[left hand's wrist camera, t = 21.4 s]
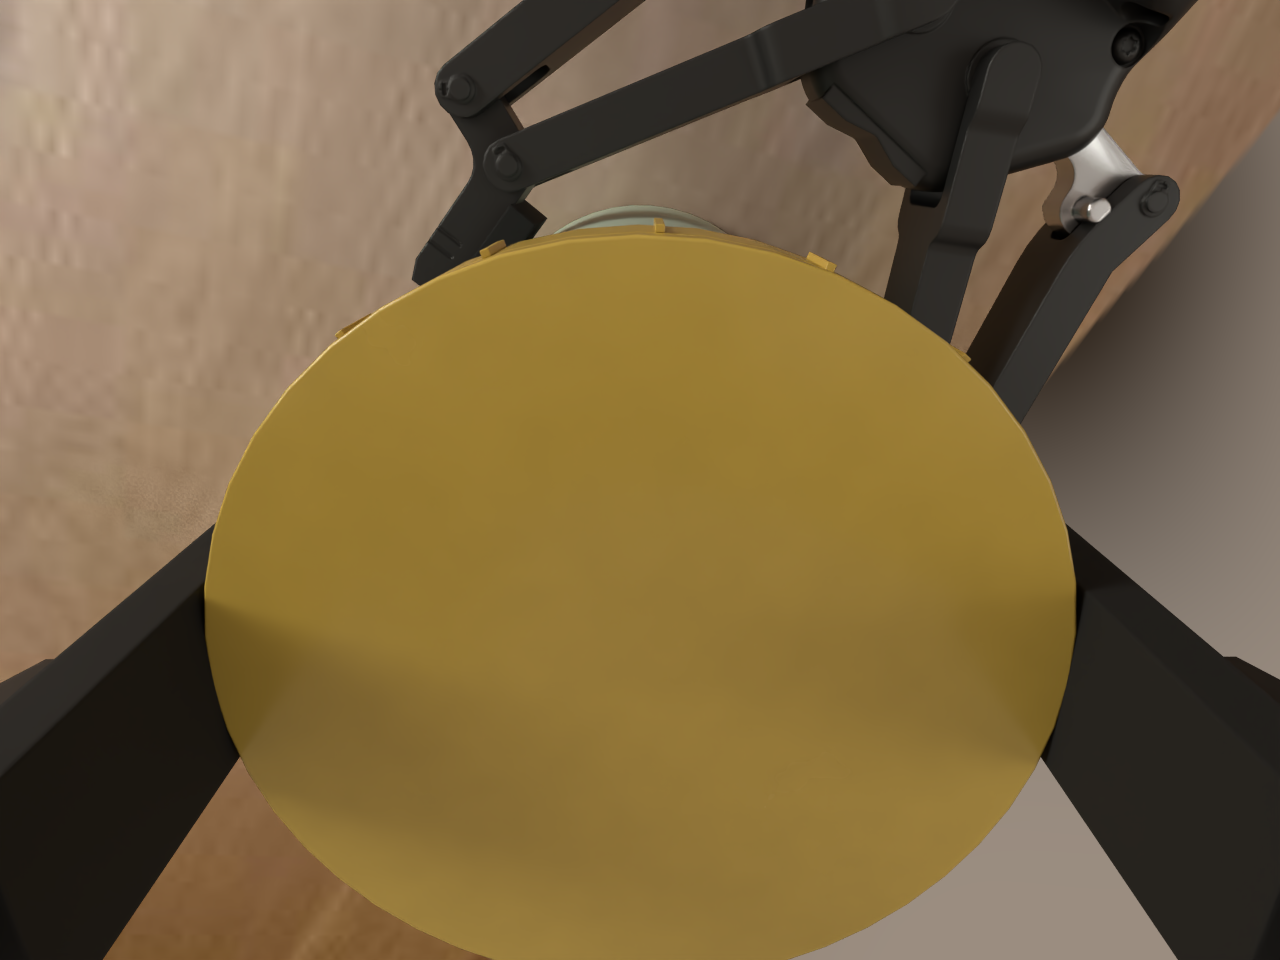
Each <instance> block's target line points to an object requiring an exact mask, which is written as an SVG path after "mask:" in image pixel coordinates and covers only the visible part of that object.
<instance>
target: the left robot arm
mask: <svg viewBox="0 0 1280 960" xmlns="http://www.w3.org/2000/svg"><path fill="white" fill-rule="evenodd" d="M215 524H216V523H215ZM215 524H214V525H213V526H211V527H210V528H209V529H208V530H207V531H206V532H204V533H203V534H202V535H201V536H200V537H198V538H197V539H196V540H195V541H194V542H193V543H191V544H190V545H189V546H188V547H187V548H185V549H184V550H183V551H182V552H181V553H179V554H178V555H177V556H176V557H175V558H174V559H172V560H171V561H170V562H169V563H168V564H166V565H165V566H164V567H163V568H162V569H161V570H159V571H158V572H157V573H156V574H155V575H153V576H152V577H151V578H150V579H149V580H148V581H146V582H145V583H144V584H143V585H142V586H140V587H139V588H138V589H137V590H136V591H134V592H133V593H132V594H131V595H130V596H129V597H127V598H126V599H125V600H124V601H123V602H121V603H120V604H119V605H118V606H117V607H116V608H114V609H113V610H112V611H111V612H110V613H108V614H107V615H106V616H105V617H104V618H102V619H101V620H100V621H99V622H98V623H97V624H95V625H94V626H93V627H92V628H91V629H89V630H88V631H87V632H86V633H85V634H84V635H82V636H81V637H80V638H79V639H78V640H76V641H75V642H74V643H73V644H72V645H71V646H69V647H68V648H67V649H66V650H65V651H63V652H62V653H61V654H60V655H59V656H57V657H56V658H55V659H45V660H44V661H42V662H40V663H38V664H36V665H34V666H32V667H30V668H28V669H26V670H25V671H23V672H21V673H19V674H17V675H15V676H13V677H11V678H9V679H7V680H6V681H4V682H2V683H0V960H103V958H104V957H105V955H106V954H107V952H108V951H109V949H110V948H111V946H112V945H113V944H114V942H115V941H116V939H117V938H118V936H119V935H120V933H121V932H122V930H123V929H124V927H125V926H126V924H127V923H128V921H129V920H130V918H131V917H132V915H133V914H134V912H135V911H136V910H137V908H138V907H139V905H140V904H141V902H142V901H143V899H144V898H145V896H146V895H147V893H148V892H149V890H150V889H151V887H152V886H153V884H154V883H155V881H156V880H157V878H158V877H159V875H160V874H161V873H162V871H163V870H164V868H165V867H166V865H167V864H168V862H169V861H170V859H171V858H172V856H173V855H174V853H175V852H176V850H177V849H178V847H179V846H180V844H181V843H182V841H183V840H184V838H185V837H186V836H187V834H188V833H189V831H190V830H191V828H192V827H193V825H194V824H195V822H196V821H197V819H198V818H199V816H200V815H201V813H202V812H203V810H204V809H205V807H206V806H207V804H208V803H209V802H210V800H211V799H212V797H213V796H214V794H215V793H216V791H217V790H218V788H219V787H220V785H221V784H222V782H223V781H224V779H225V778H226V776H227V775H228V773H229V772H230V770H231V769H232V767H233V766H234V765H235V763H236V762H237V760H238V759H239V757H240V755H239V753H238V751H237V749H236V747H235V745H234V743H233V741H232V738H231V736H230V734H229V732H228V730H227V727H226V724H225V721H224V718H223V715H222V712H221V709H220V705H219V701H218V697H217V693H216V689H215V685H214V681H213V676H212V671H211V667H210V662H209V657H208V652H207V646H206V640H205V589H204V586H205V580H206V573H207V566H208V560H209V553H210V547H211V540H212V534H213V531H214V528H215ZM1065 524H1066V523H1065ZM1066 527H1067V530H1068V536H1069V542H1070V548H1071V555H1072V561H1073V567H1074V573H1075V579H1076V638H1075V644H1074V651H1073V656H1072V661H1071V666H1070V671H1069V675H1068V680H1067V684H1066V688H1065V692H1064V696H1063V700H1062V704H1061V708H1060V712H1059V715H1058V718H1057V721H1056V725H1055V727H1054V729H1053V732H1052V734H1051V736H1050V738H1049V740H1048V742H1047V744H1046V746H1045V749H1044V751H1043V753H1042V755H1041V758H1042V759H1043V761H1044V762H1045V764H1046V765H1047V767H1048V768H1049V770H1050V771H1051V773H1052V774H1053V776H1054V777H1055V779H1056V780H1057V782H1058V783H1059V784H1060V786H1061V787H1062V789H1063V790H1064V792H1065V793H1066V795H1067V796H1068V798H1069V799H1070V801H1071V802H1072V804H1073V805H1074V807H1075V808H1076V810H1077V811H1078V813H1079V814H1080V816H1081V817H1082V818H1083V820H1084V821H1085V823H1086V824H1087V826H1088V827H1089V829H1090V830H1091V832H1092V833H1093V835H1094V836H1095V838H1096V839H1097V841H1098V842H1099V844H1100V845H1101V847H1102V848H1103V849H1104V851H1105V853H1106V854H1107V855H1108V857H1109V858H1110V860H1111V861H1112V863H1113V864H1114V866H1115V867H1116V869H1117V870H1118V872H1119V873H1120V875H1121V876H1122V878H1123V879H1124V881H1125V882H1126V884H1127V885H1128V887H1129V888H1130V889H1131V891H1132V892H1133V894H1134V895H1135V897H1136V898H1137V900H1138V901H1139V903H1140V904H1141V906H1142V907H1143V909H1144V910H1145V912H1146V913H1147V915H1148V916H1149V918H1150V919H1151V920H1152V922H1153V924H1154V925H1155V927H1156V928H1157V929H1158V931H1159V932H1160V934H1161V935H1162V937H1163V938H1164V940H1165V941H1166V943H1167V944H1168V946H1169V947H1170V949H1171V950H1172V952H1173V953H1174V955H1175V956H1176V958H1177V959H1178V960H1280V680H1279V679H1278V678H1276V677H1274V676H1272V675H1270V674H1268V673H1266V672H1264V671H1262V670H1260V669H1258V668H1257V667H1255V666H1253V665H1251V664H1249V663H1247V662H1245V661H1243V660H1241V659H1239V658H1237V657H1223V656H1222V655H1221V654H1219V653H1218V652H1217V651H1216V650H1215V649H1214V648H1212V647H1211V646H1210V645H1209V644H1208V643H1206V642H1205V641H1204V640H1203V639H1202V638H1201V637H1199V636H1198V635H1197V634H1196V633H1195V632H1193V631H1192V630H1191V629H1190V628H1189V627H1188V626H1186V625H1185V624H1184V623H1183V622H1182V621H1180V620H1179V619H1178V618H1177V617H1176V616H1175V615H1173V614H1172V613H1171V612H1170V611H1168V610H1167V609H1166V608H1165V607H1164V606H1163V605H1161V604H1160V603H1159V602H1158V601H1157V600H1155V599H1154V598H1153V597H1152V596H1151V595H1150V594H1148V593H1147V592H1146V591H1145V590H1144V589H1143V588H1141V587H1140V586H1139V585H1138V584H1137V583H1135V582H1134V581H1133V580H1132V579H1131V578H1129V577H1128V576H1127V575H1126V574H1125V573H1124V572H1122V571H1121V570H1120V569H1119V568H1118V567H1116V566H1115V565H1114V564H1113V563H1112V562H1110V561H1109V560H1108V559H1107V558H1106V557H1105V556H1103V555H1102V554H1101V553H1100V552H1099V551H1097V550H1096V549H1095V548H1094V547H1093V546H1092V545H1090V544H1089V543H1088V542H1087V541H1086V540H1084V539H1083V538H1082V537H1081V536H1080V535H1079V534H1077V533H1076V532H1075V531H1074V530H1073V529H1071V528H1070V527H1069V526H1068V525H1067V524H1066Z"/></svg>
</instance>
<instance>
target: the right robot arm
mask: <svg viewBox="0 0 1280 960" xmlns="http://www.w3.org/2000/svg"><path fill="white" fill-rule="evenodd" d="M644 1H645V0H523V1H522V2H520V3H519V4H518V5H517V6H515V7H514V8H513V9H512V10H510V11H509V12H508V13H507V14H506V15H504V16H503V17H502V18H501V19H499V20H498V21H497V22H496V23H495V24H493V25H492V26H491V27H490V28H488V29H487V30H486V31H485V32H483V33H482V34H481V35H480V36H479V37H477V38H476V39H475V40H474V41H472V42H471V43H470V44H469V45H467V46H466V47H465V48H464V49H463V50H461V51H460V52H459V53H458V54H456V55H455V56H454V57H453V58H451V59H450V60H449V61H448V62H447V63H445V64H444V65H443V66H442V68H441V69H440V70H439V71H438V73H437V76H436V80H435V83H434V84H435V95H436V97H437V99H438V101H439V103H440V105H441V106H442V107H443V108H444V109H445V110H446V111H447V112H448V113H449V114H450V115H451V117H452V118H453V120H454V121H455V123H456V125H457V126H458V128H459V129H460V131H461V132H462V134H463V136H464V137H465V139H466V140H467V142H468V144H469V146H470V148H471V151H472V155H473V171H472V175H471V177H470V179H469V181H468V183H467V184H466V186H465V187H464V189H463V190H462V192H461V193H460V195H459V196H458V198H457V199H456V201H455V202H454V203H453V205H452V206H451V208H450V209H449V211H448V212H447V214H446V215H445V217H444V218H443V220H442V221H441V223H440V224H439V226H438V227H437V228H436V230H435V231H434V233H433V234H432V236H431V237H430V239H429V241H428V242H427V243H426V245H425V246H424V248H423V249H422V251H421V252H420V254H419V255H418V256H417V258H416V261H415V266H414V271H413V276H412V280H413V281H414V282H416V283H417V284H418V285H420V286H421V285H423V284H425V283H427V282H428V281H430V280H432V279H434V278H436V277H438V276H440V275H442V274H443V273H445V272H447V271H449V270H451V269H453V268H455V267H456V266H458V265H460V264H462V263H464V262H466V261H468V260H471V259H474V258H476V257H479V256H481V254H480V250H482V249H484V248H486V247H488V246H490V245H492V244H493V243H495V242H498V241H500V240H504V241H505V244H506V247H507V246H509V245H512V244H515V243H517V242H520V241H524V240H529V239H533V237H534V236H535V235H536V233H537V232H538V230H539V229H540V228H541V226H542V225H543V224H544V222H545V221H546V219H547V218H546V217H545V216H544V215H543V214H542V213H540V212H539V211H538V210H537V209H535V208H534V207H533V206H532V205H531V204H529V203H528V202H527V201H526V200H525V198H526V197H527V196H528V194H529V193H530V191H531V190H532V189H533V188H534V187H535V186H537V185H540V184H542V183H545V182H547V181H550V180H552V179H555V178H557V177H560V176H562V175H564V174H567V173H569V172H572V171H574V170H577V169H579V168H582V167H584V166H587V165H589V164H592V163H594V162H596V161H599V160H601V159H604V158H606V157H609V156H611V155H614V154H616V153H619V152H621V151H624V150H626V149H628V148H631V147H633V146H636V145H638V144H641V143H643V142H646V141H648V140H651V139H653V138H656V137H658V136H660V135H663V134H665V133H668V132H670V131H673V130H675V129H678V128H680V127H683V126H685V125H687V124H690V123H692V122H695V121H697V120H700V119H702V118H705V117H707V116H710V115H712V114H715V113H717V112H719V111H722V110H724V109H727V108H729V107H732V106H734V105H737V104H739V103H742V102H744V101H747V100H749V99H752V98H754V97H757V96H760V95H762V94H765V93H767V92H770V91H772V90H775V89H777V88H780V87H782V86H785V85H787V84H789V83H792V82H794V81H797V80H799V79H801V82H802V85H803V88H804V91H805V93H806V95H807V97H808V99H809V101H808V102H807V103H806V105H807V106H808V107H809V108H810V109H811V110H812V111H813V112H814V113H815V114H816V115H817V116H818V117H820V118H821V119H822V120H823V121H824V122H825V123H826V124H827V125H829V126H831V127H833V128H835V129H837V130H839V131H841V132H843V133H845V134H847V135H849V136H851V137H853V138H854V139H855V140H856V141H857V143H858V145H859V147H860V148H861V150H862V152H863V153H864V155H865V157H866V159H867V160H868V162H869V164H870V165H871V167H873V168H874V169H875V170H876V171H877V172H878V173H879V174H880V175H881V176H882V177H883V178H884V179H885V180H886V181H887V182H888V183H890V184H891V185H897V186H902V187H904V188H906V189H905V193H904V197H903V201H902V205H901V209H900V213H899V218H898V231H899V240H898V244H897V248H896V252H895V256H894V260H893V264H892V268H891V272H890V276H889V280H888V284H887V288H886V292H885V296H884V299H886V300H888V301H890V302H891V303H893V304H895V305H897V306H898V307H900V308H901V309H902V310H904V311H905V312H906V313H908V314H909V315H911V316H912V317H913V318H915V319H916V320H917V321H919V322H920V323H922V324H923V325H924V326H926V327H927V328H929V329H930V330H931V331H933V332H934V333H935V334H937V335H938V336H940V337H941V338H942V339H944V340H945V341H946V342H948V343H949V344H950V342H951V339H952V335H953V332H954V328H955V325H956V321H957V318H958V314H959V311H960V307H961V304H962V300H963V297H964V294H965V290H966V287H967V283H968V280H969V276H970V273H971V269H972V266H973V262H974V259H975V256H976V253H977V252H978V250H979V249H980V248H981V247H982V246H983V245H984V244H985V243H986V241H987V239H988V237H989V235H990V232H991V230H992V227H993V223H994V220H995V216H996V213H997V209H998V206H999V202H1000V199H1001V196H1002V192H1003V189H1004V185H1005V182H1006V178H1007V175H1008V174H1011V173H1015V172H1018V171H1022V170H1025V169H1029V168H1033V167H1036V166H1040V165H1043V164H1047V163H1050V162H1054V163H1055V165H1056V169H1057V180H1056V183H1055V186H1054V188H1053V190H1052V191H1051V193H1050V194H1049V196H1048V197H1047V199H1046V200H1045V201H1044V203H1043V206H1042V211H1043V216H1044V220H1045V222H1046V223H1045V224H1044V225H1043V227H1042V228H1041V229H1040V230H1039V231H1038V232H1037V233H1036V235H1035V236H1034V237H1033V239H1032V240H1031V241H1030V243H1029V244H1028V245H1027V247H1026V248H1025V250H1024V251H1023V253H1022V255H1021V256H1020V258H1019V260H1018V261H1017V263H1016V265H1015V266H1014V268H1013V270H1012V272H1011V274H1010V275H1009V277H1008V279H1007V281H1006V283H1005V284H1004V286H1003V288H1002V290H1001V292H1000V293H999V295H998V297H997V299H996V301H995V302H994V304H993V306H992V308H991V310H990V311H989V313H988V315H987V317H986V319H985V320H984V322H983V324H982V326H981V328H980V329H979V331H978V333H977V335H976V337H975V338H974V340H973V342H972V344H971V346H970V347H969V349H968V351H967V353H966V354H967V355H968V356H969V357H970V358H971V360H970V361H969V362H968V363H969V364H970V365H971V366H972V367H973V368H974V369H975V370H976V371H977V372H978V373H979V374H980V375H981V376H982V377H983V378H984V379H985V380H986V381H987V382H988V383H989V384H990V385H991V386H992V387H993V389H994V390H995V391H996V393H997V394H998V395H999V397H1000V398H1001V399H1002V401H1003V402H1004V403H1005V405H1006V406H1007V407H1008V409H1009V410H1010V411H1011V413H1012V414H1013V415H1014V417H1015V418H1016V420H1017V421H1018V422H1019V424H1021V422H1022V421H1023V419H1024V417H1025V416H1026V414H1027V412H1028V411H1029V409H1030V407H1031V406H1032V404H1033V402H1034V401H1035V399H1036V397H1037V396H1038V394H1039V392H1040V391H1041V389H1042V387H1043V386H1044V384H1045V382H1046V381H1047V379H1048V377H1049V376H1050V374H1051V372H1052V371H1053V369H1054V367H1055V366H1056V364H1057V363H1058V361H1059V359H1060V358H1061V356H1062V354H1063V353H1064V351H1065V349H1066V348H1067V346H1068V344H1069V343H1070V341H1071V339H1072V338H1073V336H1074V334H1075V333H1076V331H1077V329H1078V328H1079V326H1080V324H1081V323H1082V321H1083V319H1084V318H1085V316H1086V314H1087V313H1088V311H1089V309H1090V308H1091V306H1092V304H1093V303H1094V301H1095V299H1096V298H1097V296H1098V294H1099V293H1100V291H1101V289H1102V288H1103V286H1104V284H1105V283H1106V281H1107V279H1108V278H1109V276H1110V274H1111V273H1112V271H1113V270H1114V269H1116V268H1117V267H1118V266H1119V265H1120V264H1121V263H1122V262H1123V261H1124V260H1125V259H1126V258H1127V257H1129V256H1130V255H1131V254H1132V253H1133V252H1134V251H1135V250H1136V249H1137V248H1138V247H1139V246H1140V245H1142V244H1143V243H1144V242H1145V241H1146V240H1147V239H1148V238H1149V237H1150V236H1151V235H1152V234H1153V233H1155V232H1156V231H1157V230H1158V229H1159V228H1160V227H1161V226H1162V225H1163V224H1164V223H1165V222H1166V221H1168V220H1169V219H1170V217H1171V216H1172V215H1173V214H1174V212H1175V211H1176V209H1177V206H1178V204H1179V201H1180V190H1179V188H1178V186H1177V183H1176V182H1175V181H1174V180H1173V179H1171V178H1170V177H1169V176H1162V175H1144V174H1142V173H1141V172H1140V171H1139V170H1138V169H1137V168H1136V166H1135V165H1134V164H1133V163H1132V162H1131V160H1130V159H1129V158H1128V157H1127V156H1126V154H1125V153H1124V152H1123V151H1122V150H1121V148H1120V147H1119V146H1118V145H1117V144H1116V142H1115V141H1114V140H1113V139H1112V138H1111V136H1110V135H1109V134H1108V133H1107V131H1106V130H1105V129H1104V128H1103V127H1104V125H1105V123H1106V121H1107V119H1108V116H1109V113H1110V110H1111V107H1112V104H1113V101H1114V99H1115V97H1116V94H1117V92H1118V90H1119V88H1120V86H1121V84H1122V82H1123V81H1124V79H1125V78H1126V76H1127V74H1128V73H1129V72H1130V71H1131V69H1132V68H1133V67H1134V66H1135V65H1136V64H1137V63H1138V62H1139V61H1140V60H1141V59H1142V58H1143V57H1144V56H1145V55H1146V54H1147V53H1148V52H1149V51H1150V50H1151V49H1152V48H1153V47H1154V46H1155V45H1156V44H1157V43H1158V42H1159V41H1160V40H1161V39H1162V38H1163V37H1164V36H1165V35H1166V34H1167V33H1168V32H1169V31H1170V30H1171V29H1172V28H1173V27H1174V26H1175V24H1176V23H1177V22H1178V21H1179V20H1180V19H1181V18H1182V17H1183V16H1184V15H1185V14H1186V13H1187V11H1188V10H1189V9H1190V8H1191V7H1192V6H1193V5H1194V4H1195V3H1196V2H1197V1H1198V0H806V4H805V9H804V10H802V11H800V12H797V13H795V14H792V15H790V16H788V17H785V18H783V19H780V20H778V21H776V22H773V23H771V24H769V25H767V26H765V27H762V28H760V29H759V30H757V31H755V32H753V33H751V34H749V35H747V36H745V37H743V38H740V39H738V40H736V41H733V42H731V43H728V44H726V45H724V46H721V47H719V48H716V49H714V50H712V51H709V52H707V53H704V54H702V55H700V56H697V57H695V58H692V59H690V60H688V61H685V62H683V63H680V64H678V65H676V66H673V67H671V68H668V69H666V70H664V71H661V72H659V73H656V74H654V75H652V76H649V77H647V78H644V79H642V80H640V81H637V82H635V83H633V84H630V85H628V86H625V87H623V88H621V89H618V90H616V91H613V92H611V93H609V94H606V95H604V96H601V97H599V98H597V99H594V100H592V101H589V102H587V103H585V104H582V105H580V106H577V107H575V108H573V109H570V110H568V111H565V112H563V113H561V114H558V115H556V116H553V117H551V118H549V119H546V120H544V121H541V122H539V123H537V124H534V125H532V126H530V127H527V128H525V129H524V127H523V126H522V124H521V122H520V121H519V119H518V117H517V116H516V114H515V112H514V111H513V109H512V107H511V105H512V104H514V103H515V102H516V101H517V100H519V99H520V98H521V97H522V96H524V95H525V94H526V93H528V92H529V91H530V90H531V89H533V88H534V87H535V86H537V85H538V84H539V83H540V82H542V81H543V80H544V79H545V78H547V77H548V76H549V75H551V74H552V73H553V72H554V71H556V70H557V69H558V68H560V67H561V66H562V65H563V64H565V63H566V62H567V61H568V60H570V59H571V58H572V57H574V56H575V55H576V54H577V53H579V52H580V51H581V50H583V49H584V48H585V47H586V46H588V45H589V44H590V43H591V42H593V41H594V40H595V39H597V38H598V37H599V36H600V35H602V34H603V33H604V32H606V31H607V30H608V29H609V28H611V27H612V26H613V25H614V24H616V23H617V22H618V21H620V20H621V19H622V18H623V17H625V16H626V15H627V14H629V13H630V12H631V11H632V10H634V9H635V8H636V7H637V6H639V5H640V4H641V3H643V2H644Z"/></svg>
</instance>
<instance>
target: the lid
mask: <svg viewBox="0 0 1280 960" xmlns="http://www.w3.org/2000/svg"><path fill="white" fill-rule="evenodd" d="M480 254H481V256H479V257H476V258H474V259H471V260H468V261H466V262H464V263H462V264H460V265H458V266H456V267H455V268H453V269H451V270H449V271H447V272H445V273H443V274H442V275H440V276H438V277H436V278H434V279H432V280H430V281H428V282H427V283H425V284H423V285H421V286H419V287H417V288H415V289H414V290H412V291H410V292H408V293H406V294H405V295H403V296H401V297H399V298H397V299H395V300H394V301H392V302H390V303H388V304H386V305H384V306H383V307H381V308H379V309H378V310H377V311H375V312H374V313H373V314H369V315H367V316H365V317H363V318H361V319H359V320H358V321H356V322H354V323H352V324H350V325H349V326H347V327H345V328H343V329H341V330H340V331H339V332H338V333H336V334H335V336H336V337H337V338H338V340H336V341H335V342H333V343H332V344H331V345H330V346H329V347H328V348H327V349H326V350H325V351H324V352H323V353H322V354H321V355H320V356H319V357H318V358H317V359H316V360H315V361H314V362H313V363H312V364H311V365H310V366H309V367H308V368H307V369H306V370H305V371H304V372H303V373H302V374H301V375H300V376H299V377H298V378H297V379H296V380H295V381H294V382H293V383H292V384H291V385H290V386H289V387H288V388H287V389H286V391H285V392H284V393H283V395H282V396H281V397H280V399H279V400H278V402H277V403H276V404H275V406H274V407H273V408H272V410H271V411H270V413H269V414H268V415H267V417H266V418H265V419H264V421H263V422H262V424H261V425H260V426H259V428H258V429H257V430H256V432H255V433H254V435H253V437H252V439H251V441H250V443H249V444H248V446H247V448H246V450H245V452H244V454H243V456H242V458H241V460H240V462H239V464H238V466H237V468H236V470H235V472H234V474H233V476H232V478H231V480H230V482H229V484H228V487H227V490H226V493H225V496H224V500H223V503H222V506H221V509H220V512H219V515H218V518H217V521H216V524H215V528H214V531H213V534H212V540H211V547H210V553H209V560H208V566H207V573H206V580H205V586H204V589H205V640H206V646H207V652H208V657H209V662H210V667H211V671H212V676H213V681H214V685H215V689H216V693H217V697H218V701H219V705H220V709H221V712H222V715H223V718H224V721H225V724H226V727H227V730H228V732H229V734H230V736H231V738H232V741H233V743H234V745H235V747H236V749H237V751H238V753H239V755H240V757H241V759H242V761H243V763H244V765H245V767H246V770H247V772H248V773H249V775H250V776H251V778H252V779H253V781H254V782H255V784H256V785H257V787H258V788H259V790H260V791H261V793H262V794H263V796H264V797H265V799H266V801H267V802H268V804H269V805H270V807H271V808H272V810H273V811H274V812H275V813H276V815H277V816H278V817H279V818H280V819H281V820H282V822H283V823H284V824H285V825H286V826H287V827H288V829H289V830H290V831H291V832H292V833H293V834H294V836H295V837H296V838H297V839H298V840H299V841H300V843H301V844H302V845H303V846H304V847H305V848H306V849H307V850H308V851H309V852H310V853H311V854H313V855H314V856H315V857H316V858H317V859H318V860H319V861H320V862H321V863H322V864H323V865H324V866H326V867H327V868H328V869H329V870H330V871H331V872H332V873H333V874H334V875H335V876H336V877H338V878H339V879H340V880H341V881H343V882H344V883H346V884H347V885H348V886H350V887H351V888H352V889H354V890H355V891H357V892H358V893H359V894H361V895H362V896H363V897H365V898H366V899H367V900H369V901H370V902H372V903H373V904H374V905H376V906H377V907H379V908H381V909H383V910H384V911H386V912H388V913H389V914H391V915H393V916H395V917H396V918H398V919H400V920H402V921H403V922H405V923H407V924H409V925H410V926H412V927H414V928H415V929H417V930H420V931H422V932H424V933H426V934H429V935H431V936H433V937H435V938H437V939H440V940H442V941H444V942H446V943H449V944H451V945H453V946H455V947H458V948H460V949H463V950H466V951H469V952H472V953H475V954H478V955H481V956H484V957H487V958H490V959H493V960H788V959H791V958H794V957H797V956H800V955H803V954H806V953H809V952H812V951H815V950H818V949H821V948H823V947H826V946H828V945H830V944H833V943H835V942H837V941H839V940H841V939H844V938H846V937H848V936H850V935H852V934H854V933H857V932H859V931H861V930H863V929H865V928H868V927H869V926H871V925H873V924H874V923H876V922H878V921H879V920H881V919H883V918H885V917H886V916H888V915H890V914H891V913H893V912H895V911H896V910H898V909H900V908H902V907H903V906H905V905H907V904H908V903H910V902H911V901H912V900H914V899H915V898H916V897H918V896H919V895H920V894H922V893H923V892H924V891H926V890H927V889H928V888H930V887H931V886H932V885H934V884H935V883H937V882H938V881H939V880H941V879H942V878H943V877H945V876H946V875H947V874H948V873H949V872H950V871H951V870H952V869H953V868H954V867H955V866H957V864H959V863H960V862H961V861H962V860H963V859H964V858H965V857H966V856H967V855H968V854H969V853H970V852H972V851H973V850H974V849H975V848H976V847H977V846H978V845H979V844H980V843H981V841H982V840H983V839H984V838H985V837H986V836H987V834H988V833H989V832H990V831H991V830H992V829H993V827H994V826H995V825H996V824H997V823H998V821H999V820H1000V819H1001V818H1002V817H1003V815H1004V814H1005V813H1006V812H1007V811H1008V810H1009V808H1010V807H1011V805H1012V804H1013V802H1014V801H1015V799H1016V797H1017V796H1018V794H1019V793H1020V791H1021V790H1022V788H1023V787H1024V785H1025V784H1026V782H1027V780H1028V779H1029V777H1030V776H1031V774H1032V773H1033V771H1034V770H1035V768H1036V766H1037V763H1038V761H1039V759H1040V757H1041V755H1042V753H1043V751H1044V749H1045V746H1046V744H1047V742H1048V740H1049V738H1050V736H1051V734H1052V732H1053V729H1054V727H1055V725H1056V721H1057V718H1058V715H1059V712H1060V708H1061V704H1062V700H1063V696H1064V692H1065V688H1066V684H1067V680H1068V675H1069V671H1070V666H1071V661H1072V656H1073V651H1074V644H1075V638H1076V579H1075V573H1074V567H1073V561H1072V555H1071V548H1070V542H1069V536H1068V530H1067V527H1066V524H1065V521H1064V518H1063V515H1062V512H1061V509H1060V507H1059V503H1058V500H1057V497H1056V494H1055V492H1054V488H1053V485H1052V482H1051V480H1050V478H1049V476H1048V474H1047V472H1046V470H1045V468H1044V466H1043V464H1042V462H1041V461H1040V459H1039V457H1038V455H1037V453H1036V451H1035V449H1034V447H1033V445H1032V443H1031V441H1030V440H1029V438H1028V436H1027V434H1026V432H1025V430H1024V429H1023V428H1022V426H1021V425H1020V424H1019V422H1018V421H1017V420H1016V418H1015V417H1014V415H1013V414H1012V413H1011V411H1010V410H1009V409H1008V407H1007V406H1006V405H1005V403H1004V402H1003V401H1002V399H1001V398H1000V397H999V395H998V394H997V393H996V391H995V390H994V389H993V387H992V386H991V385H990V384H989V383H988V382H987V381H986V380H985V379H984V378H983V377H982V376H981V375H980V374H979V373H978V372H977V371H976V370H975V369H974V368H973V367H972V366H971V365H970V364H969V363H968V362H969V361H970V360H971V358H970V357H969V356H968V355H967V354H965V353H964V352H962V351H960V350H959V349H957V348H955V347H953V346H952V345H950V344H949V343H948V342H946V341H945V340H944V339H942V338H941V337H940V336H938V335H937V334H935V333H934V332H933V331H931V330H930V329H929V328H927V327H926V326H924V325H923V324H922V323H920V322H919V321H917V320H916V319H915V318H913V317H912V316H911V315H909V314H908V313H906V312H905V311H904V310H902V309H901V308H900V307H898V306H897V305H895V304H893V303H891V302H890V301H888V300H886V299H884V298H882V297H880V296H879V295H877V294H875V293H873V292H871V291H869V290H868V289H866V288H864V287H862V286H860V285H858V284H857V283H855V282H853V281H851V280H849V279H847V278H845V277H843V276H841V275H839V274H837V273H835V272H834V271H835V269H836V267H837V265H836V264H834V263H832V262H830V261H828V260H826V259H824V258H822V257H820V256H818V255H816V254H814V253H811V252H809V254H808V256H807V258H805V257H802V256H799V255H796V254H794V253H791V252H788V251H785V250H782V249H780V248H777V247H774V246H771V245H768V244H765V243H763V242H760V241H757V240H753V239H748V238H743V237H738V236H733V235H728V234H724V233H719V232H714V231H709V230H704V229H699V228H686V227H670V226H665V223H664V221H663V219H662V218H654V225H639V224H637V225H624V226H610V227H597V228H583V229H576V230H571V231H566V232H562V233H557V234H552V235H548V236H543V237H538V238H534V239H529V240H524V241H520V242H517V243H515V244H512V245H509V246H507V247H506V244H505V241H504V240H500V241H498V242H495V243H493V244H492V245H490V246H488V247H486V248H484V249H482V250H480Z"/></svg>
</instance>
